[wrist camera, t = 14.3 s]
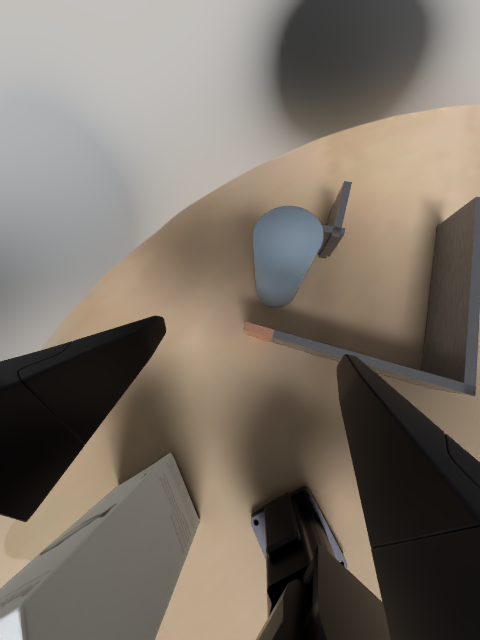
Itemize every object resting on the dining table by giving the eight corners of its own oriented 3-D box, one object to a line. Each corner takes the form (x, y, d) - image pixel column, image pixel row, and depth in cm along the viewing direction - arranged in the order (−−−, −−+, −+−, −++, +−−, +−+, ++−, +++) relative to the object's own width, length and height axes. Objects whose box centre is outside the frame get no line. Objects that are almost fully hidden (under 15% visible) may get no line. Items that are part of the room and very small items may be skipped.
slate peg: (303, 293, 22) (338, 240, 12) (270, 315, 21) (278, 279, 12) (280, 264, 23) (294, 194, 13) (248, 284, 23) (239, 230, 13)
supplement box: (172, 448, 19) (21, 603, 7) (202, 522, 18) (67, 898, 5) (116, 483, 19) (-136, 701, 7) (139, 561, 17) (-144, 1035, 5)
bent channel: (444, 227, 21) (485, 198, 17) (428, 388, 18) (475, 396, 14) (286, 203, 25) (290, 175, 21) (246, 334, 21) (243, 328, 17)
